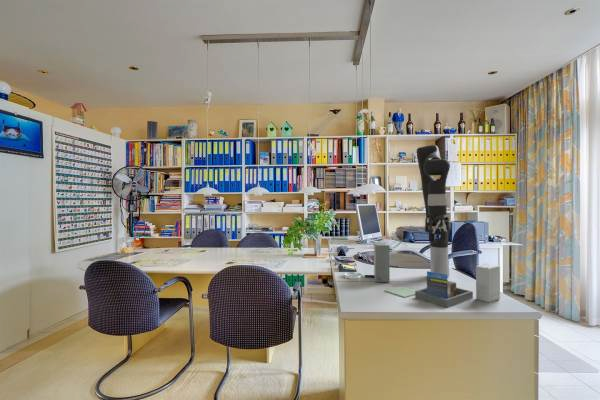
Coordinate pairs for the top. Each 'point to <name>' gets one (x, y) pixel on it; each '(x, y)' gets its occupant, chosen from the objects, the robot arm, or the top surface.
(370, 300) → the top surface
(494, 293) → the skincare box
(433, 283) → the label tape box
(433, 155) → the robot arm
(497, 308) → the top surface
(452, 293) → the walnut block
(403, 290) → the mat
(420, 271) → the top surface
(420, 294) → the parts bin
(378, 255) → the hard drive box
